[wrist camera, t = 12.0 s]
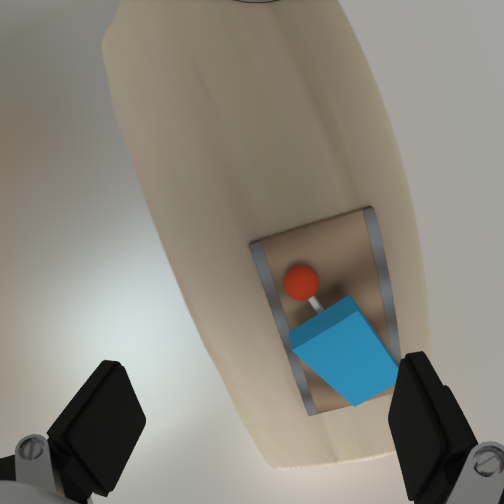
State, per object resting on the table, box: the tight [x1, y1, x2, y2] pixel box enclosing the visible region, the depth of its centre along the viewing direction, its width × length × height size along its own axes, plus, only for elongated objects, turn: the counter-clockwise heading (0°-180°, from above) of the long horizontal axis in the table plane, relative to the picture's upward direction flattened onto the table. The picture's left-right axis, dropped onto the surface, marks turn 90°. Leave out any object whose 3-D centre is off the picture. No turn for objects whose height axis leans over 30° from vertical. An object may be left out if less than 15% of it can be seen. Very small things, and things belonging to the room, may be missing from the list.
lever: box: [284, 266, 399, 406], centre depth 31 cm, size 7×7×18 cm
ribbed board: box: [249, 206, 401, 416], centre depth 33 cm, size 24×13×1 cm, turn 19°
